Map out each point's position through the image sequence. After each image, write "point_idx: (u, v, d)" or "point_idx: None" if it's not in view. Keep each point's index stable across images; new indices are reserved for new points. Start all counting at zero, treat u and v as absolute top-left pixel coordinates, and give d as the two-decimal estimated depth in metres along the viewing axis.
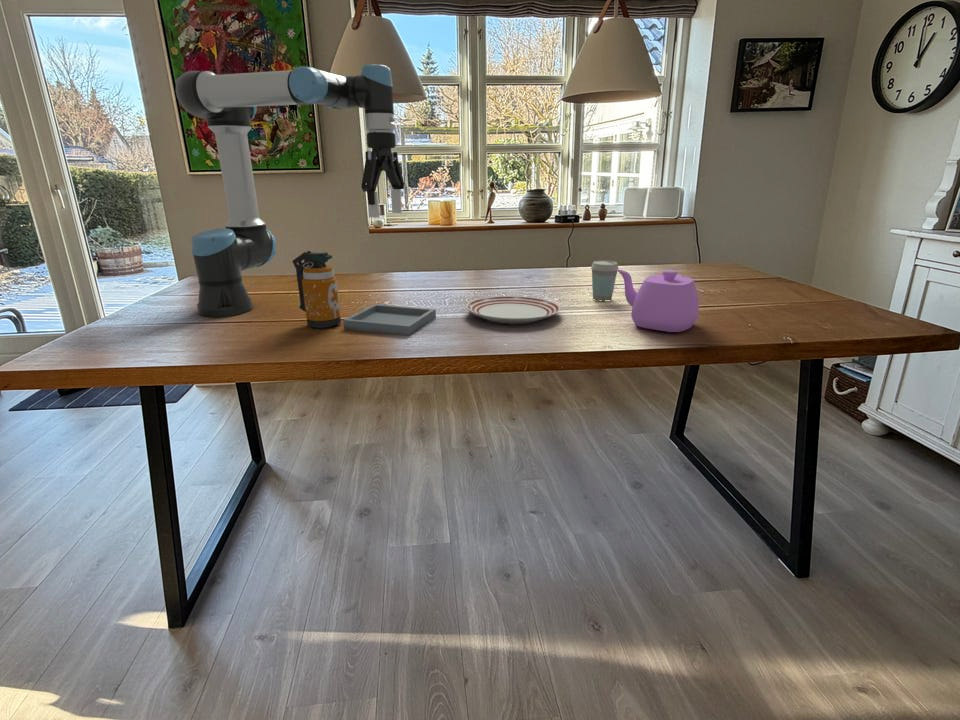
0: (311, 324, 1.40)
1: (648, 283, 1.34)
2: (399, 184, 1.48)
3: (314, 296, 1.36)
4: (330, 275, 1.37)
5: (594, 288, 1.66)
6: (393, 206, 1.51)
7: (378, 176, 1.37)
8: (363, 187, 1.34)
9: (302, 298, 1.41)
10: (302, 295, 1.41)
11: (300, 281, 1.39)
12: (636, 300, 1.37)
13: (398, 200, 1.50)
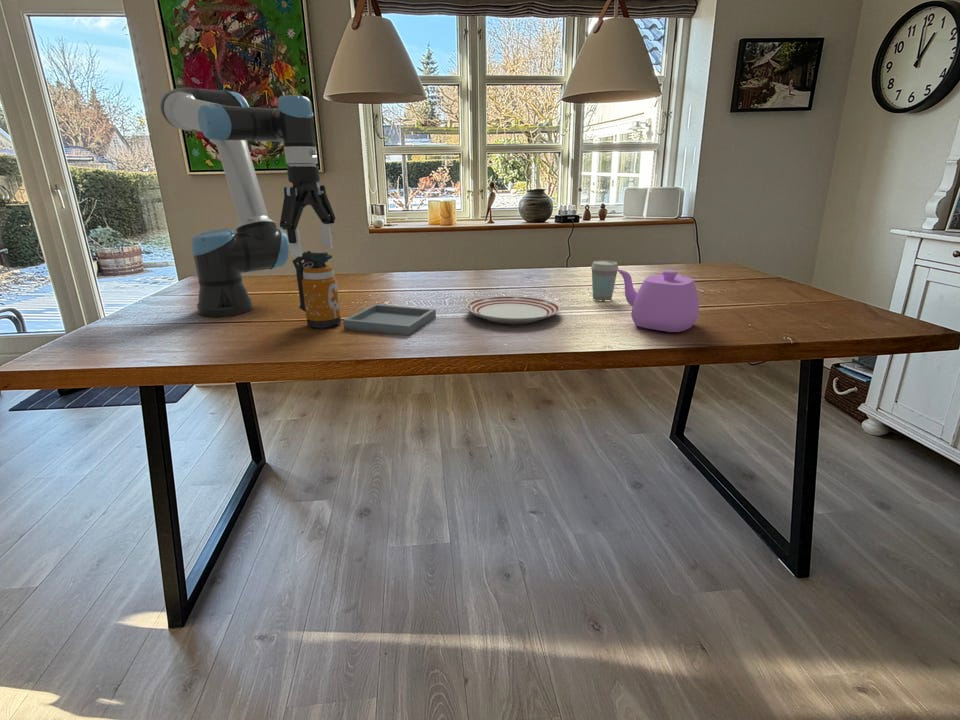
0: (311, 324, 1.40)
1: (648, 283, 1.34)
2: (328, 218, 1.40)
3: (314, 296, 1.36)
4: (330, 275, 1.37)
5: (594, 288, 1.66)
6: (323, 241, 1.42)
7: (299, 213, 1.28)
8: (281, 225, 1.25)
9: (302, 298, 1.41)
10: (302, 295, 1.41)
11: (300, 281, 1.39)
12: (636, 300, 1.37)
13: (328, 235, 1.41)
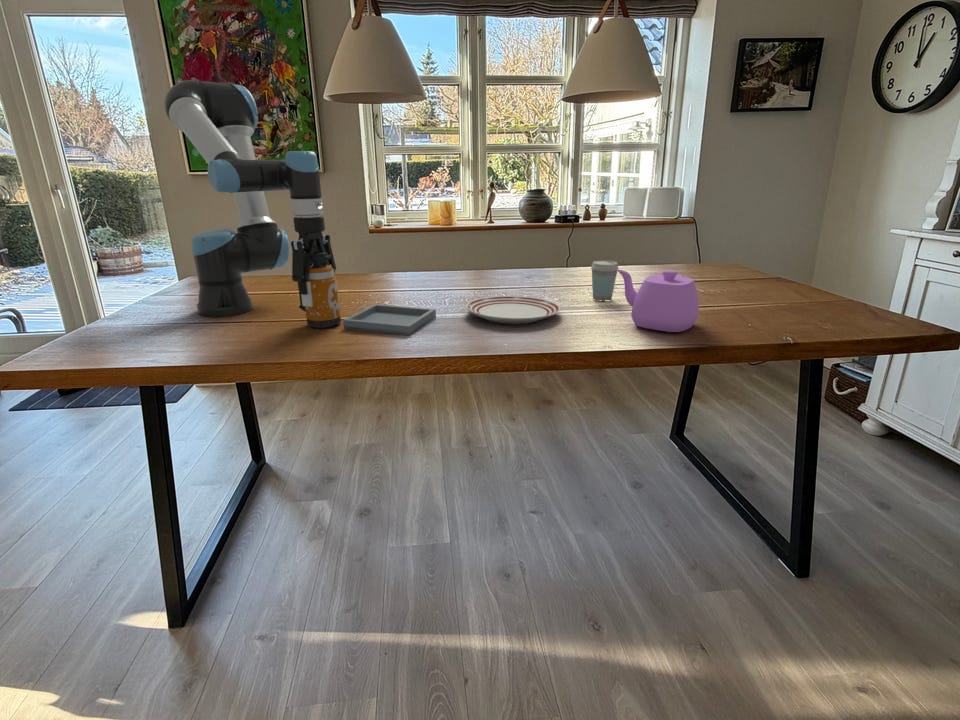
0: (311, 324, 1.40)
1: (648, 283, 1.34)
2: None
3: (314, 296, 1.36)
4: (330, 275, 1.37)
5: (594, 288, 1.66)
6: None
7: (308, 264, 1.34)
8: (294, 279, 1.32)
9: None
10: None
11: None
12: (636, 300, 1.37)
13: None
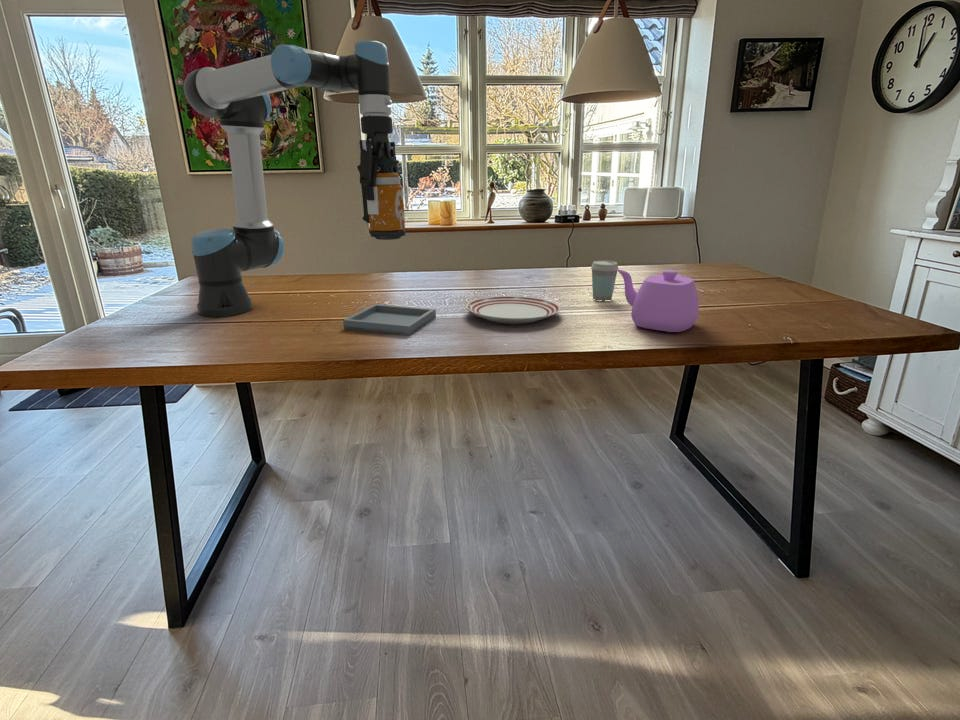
0: (376, 235, 1.32)
1: (648, 283, 1.34)
2: None
3: (381, 203, 1.29)
4: (397, 181, 1.30)
5: (594, 288, 1.66)
6: None
7: (376, 167, 1.26)
8: (361, 181, 1.24)
9: (366, 208, 1.33)
10: (366, 205, 1.33)
11: (364, 189, 1.32)
12: (636, 300, 1.37)
13: None
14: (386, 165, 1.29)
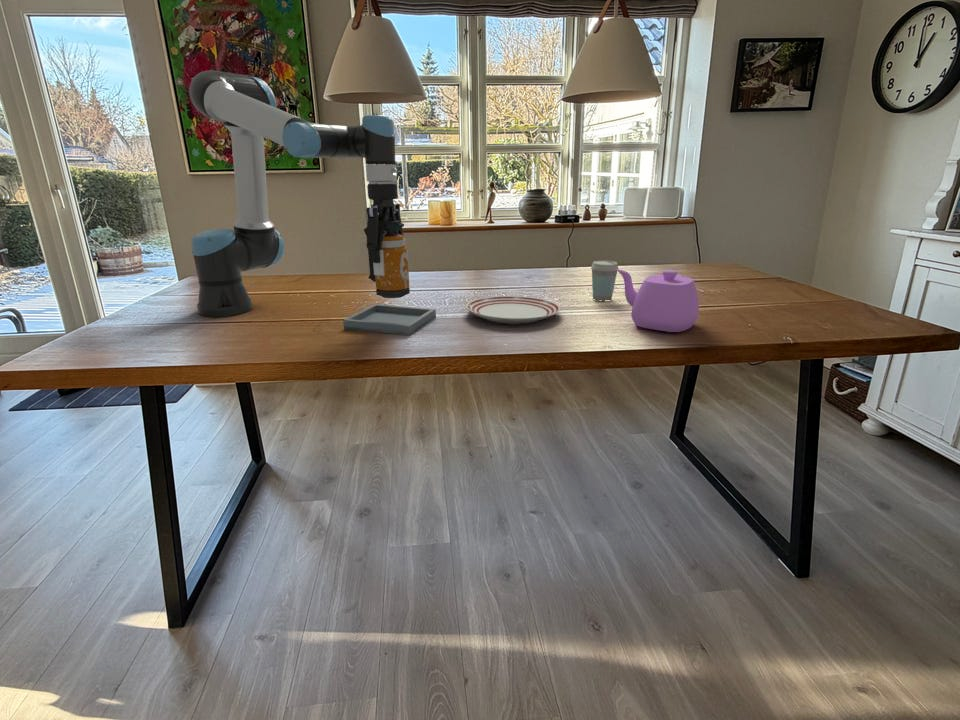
0: (382, 294, 1.38)
1: (648, 283, 1.34)
2: None
3: (387, 264, 1.34)
4: (402, 244, 1.35)
5: (594, 288, 1.66)
6: None
7: (382, 232, 1.32)
8: (368, 246, 1.30)
9: (372, 268, 1.39)
10: (372, 265, 1.39)
11: (371, 250, 1.37)
12: (636, 300, 1.37)
13: None
14: (392, 229, 1.34)
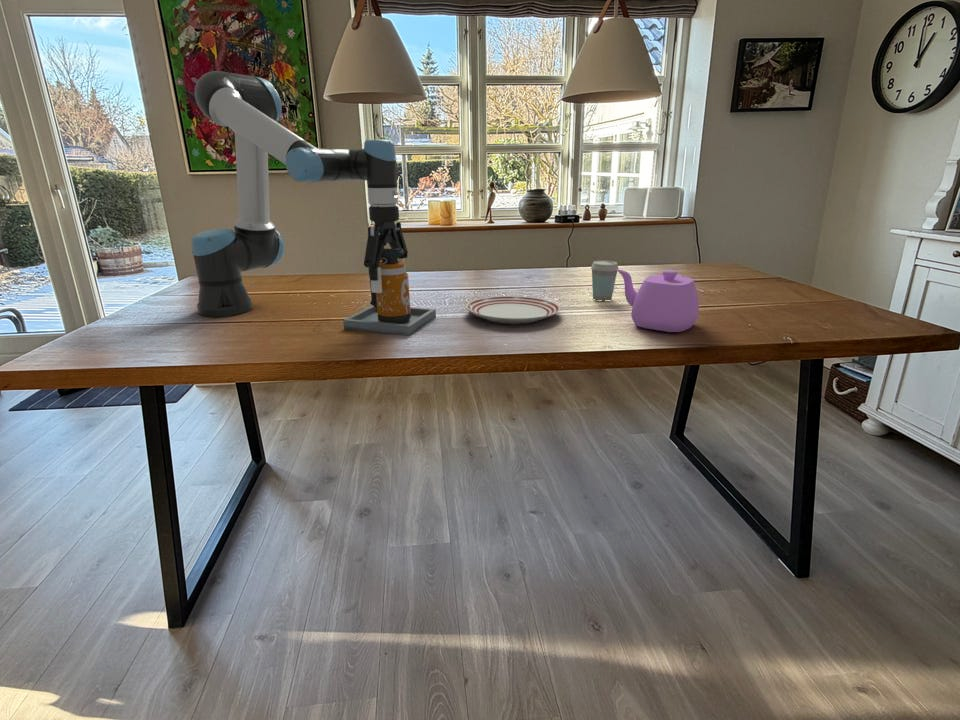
0: (383, 320, 1.40)
1: (648, 283, 1.34)
2: None
3: (388, 292, 1.37)
4: (403, 271, 1.38)
5: (594, 288, 1.66)
6: None
7: (381, 251, 1.33)
8: (365, 264, 1.30)
9: (373, 294, 1.41)
10: None
11: None
12: (636, 300, 1.37)
13: None
14: (392, 256, 1.37)
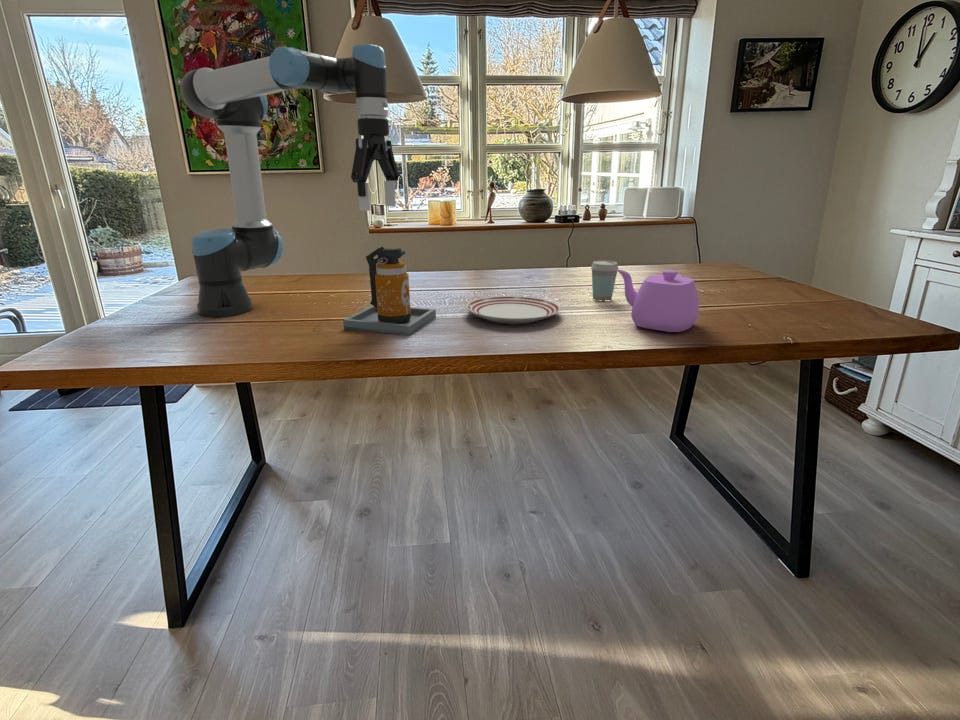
0: (383, 320, 1.40)
1: (648, 283, 1.34)
2: (393, 175, 1.38)
3: (388, 292, 1.37)
4: (403, 271, 1.38)
5: (594, 288, 1.66)
6: (386, 199, 1.41)
7: (369, 166, 1.27)
8: (353, 177, 1.24)
9: (374, 294, 1.41)
10: (374, 291, 1.41)
11: (372, 277, 1.40)
12: (636, 300, 1.37)
13: (392, 192, 1.40)
14: (393, 256, 1.37)
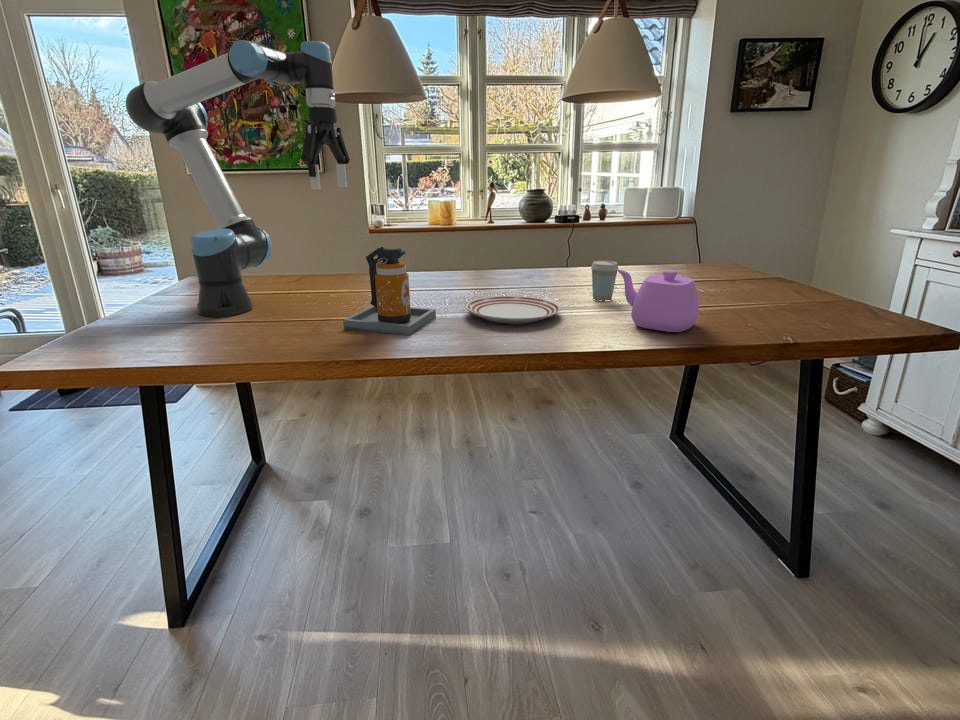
0: (383, 320, 1.40)
1: (648, 283, 1.34)
2: (343, 159, 1.54)
3: (388, 292, 1.37)
4: (403, 271, 1.38)
5: (594, 288, 1.66)
6: (338, 181, 1.56)
7: (319, 149, 1.42)
8: (303, 159, 1.39)
9: (374, 294, 1.41)
10: (374, 291, 1.41)
11: (372, 277, 1.40)
12: (636, 300, 1.37)
13: (343, 175, 1.55)
14: (393, 256, 1.37)
